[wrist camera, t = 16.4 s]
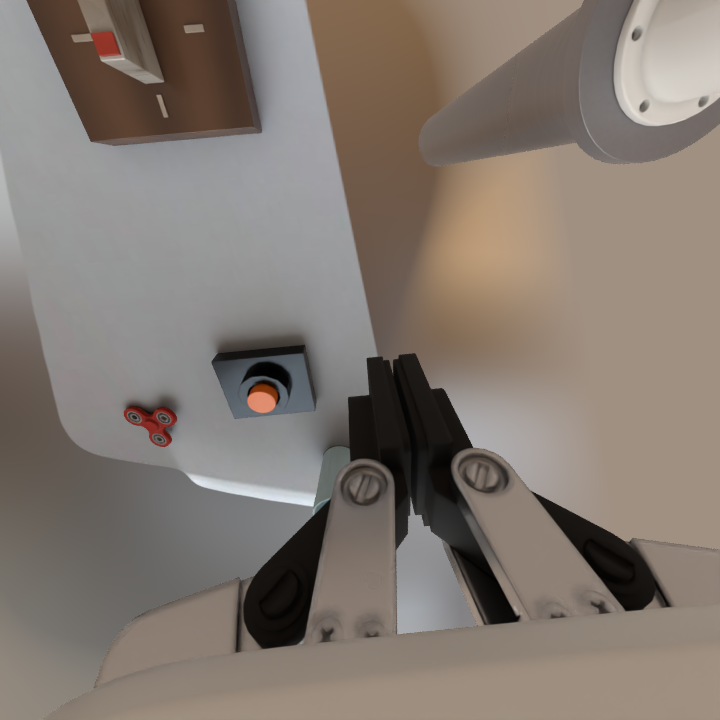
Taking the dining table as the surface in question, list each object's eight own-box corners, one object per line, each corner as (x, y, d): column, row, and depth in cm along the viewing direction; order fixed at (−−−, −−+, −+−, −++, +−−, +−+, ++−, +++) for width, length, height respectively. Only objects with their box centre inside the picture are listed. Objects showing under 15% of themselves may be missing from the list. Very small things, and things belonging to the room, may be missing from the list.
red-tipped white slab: (108, -23, 20) (42, -82, 16) (131, -25, 20) (71, -84, 16) (145, 84, 23) (98, 60, 18) (165, 82, 23) (123, 58, 18)
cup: (353, 473, 54) (355, 530, 45) (312, 467, 53) (307, 524, 44) (365, 446, 50) (371, 501, 42) (323, 438, 49) (319, 494, 40)
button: (274, 382, 38) (271, 390, 36) (280, 403, 40) (278, 411, 38) (247, 384, 38) (243, 393, 36) (254, 405, 40) (251, 414, 38)
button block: (304, 344, 39) (301, 360, 36) (316, 401, 45) (314, 419, 41) (217, 353, 39) (205, 369, 36) (239, 408, 44) (230, 427, 41)
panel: (220, -75, 21) (202, -113, 18) (262, 132, 27) (253, 127, 25) (27, -59, 21) (-19, -95, 18) (113, 145, 27) (89, 141, 24)
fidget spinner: (174, 417, 42) (180, 411, 43) (124, 395, 41) (131, 390, 42) (166, 451, 45) (171, 445, 46) (119, 432, 44) (126, 426, 45)
